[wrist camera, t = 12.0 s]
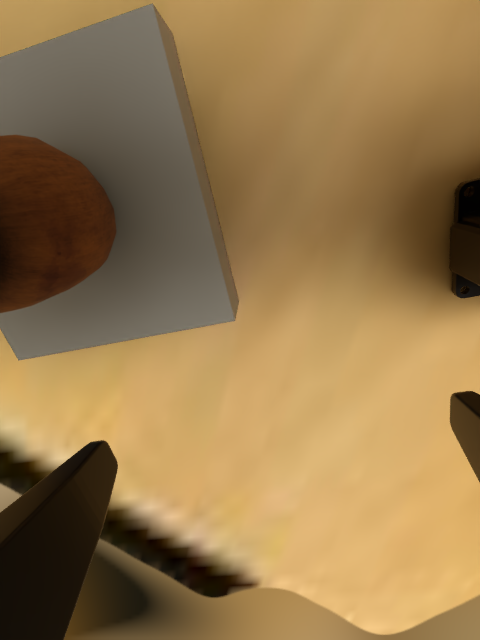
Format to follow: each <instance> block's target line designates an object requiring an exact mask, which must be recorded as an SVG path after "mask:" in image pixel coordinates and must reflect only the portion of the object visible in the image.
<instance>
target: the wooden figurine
mask: <svg viewBox="0 0 480 640" xmlns="http://www.w3.org/2000/svg"><path fill="white" fill-rule="evenodd" d="M116 232H117V231H116V223H115V215H114V208H113V206H112V204H111V202H110V200H109V198H108V196H107V194H106V192H105V190H104V188H103V187H102V186H101V184H100V183H99V182H98V181H97V180H96V178H95V177H94V176H93V175H92V173H91V172H90V171H89V170H88V169H87V168H86V167H85V166H84V165H83V164H82V163H81V162H80V161H78V160H77V159H75V158H73V157H71V156H69V155H68V154H66V153H64V152H62V151H60V150H58V149H57V148H55V147H53V146H51V145H49V144H47V143H45V142H43V141H42V140H40V139H38V138H34V137H28V136H21V135H5V136H0V313H4V312H9V311H14V310H18V309H22V308H25V307H29V306H33V305H35V304H37V303H39V302H42V301H44V300H46V299H48V298H51V297H53V296H55V295H57V294H60V293H62V292H64V291H67V290H69V289H71V288H72V287H74V286H76V285H77V284H79V283H80V282H82V281H83V280H85V279H86V278H87V277H89V276H90V275H91V274H93V273H94V272H95V271H97V270H98V269H99V268H100V267H101V266H102V265H103V264H104V262H105V261H106V260H107V258H108V256H109V253H110V251H111V248H112V245H113V242H114V239H115V236H116Z"/></svg>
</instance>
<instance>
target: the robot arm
mask: <svg viewBox="0 0 480 640" xmlns="http://www.w3.org/2000/svg"><path fill="white" fill-rule="evenodd" d="M468 187H469V188H470V193H469V194H468V195H467V196H464V191H465V189H466V188H468ZM449 268H450V270H451V271H453V276H452V291H453V293H454V295H456V296H457V297H460V298H468V297H474V296H479V295H480V178H479V179H474V180H470V181H465V182H463V183H461V184H460V185H459V186H458V187H457V189H456V191H455V206H454V223H453V225H452V226H451V228H450V267H449ZM464 286H466V288H465V290H464V291H462V292H460V290H461V288H462V287H464ZM450 424H451V427H452V430H453V432H454V434H455V436H456V438H457V440H458V442H459V444H460V445H461V447H462V449H463V451H464V453H465V455H466V457H467V459H468V461H469V463H470V465H471V467H472V469H473V471H474V472H475V474H476V476H477V478H478V480H479V482H480V395H479V394H477V393H475V392H472V391H465V392H457V393H454V394H452V395H451V399H450ZM117 469H118V464H117V460H116V458H115V456H114V454H113V452H112V450H111V448H110V446H109V445H108V443H107V442H106V441H103V440H101V441H94V442H90V443H89V444H87V445H86V446H85V447H83V448H82V449H81V450H80V451H78V452H77V453H76V454H74V455H73V456H72V457H71V458H69V459H68V460H67V461H66V462H64V463H63V464H62V465H60V466H59V467H58V468H57V469H55V470H54V471H53V472H52V473H50V474H49V475H48V476H46V477H45V478H44V479H43V480H41V481H40V482H39V483H38V484H36V485H35V486H34V487H32V488H31V489H30V490H29V491H27V492H26V493H25V494H24V495H22V496H21V497H20V498H19V499H17V500H16V501H15V502H13V503H12V504H11V505H10V506H8V507H7V508H6V509H4V510H3V511H2V512H1V513H0V640H64V637H65V633H66V631H67V628H68V625H69V622H70V620H71V617H72V614H73V611H74V608H75V606H76V603H77V600H78V597H79V594H80V591H81V588H82V585H83V583H84V580H85V577H86V574H87V571H88V568H89V566H90V563H91V560H92V557H93V554H94V551H95V548H96V545H97V542H98V540H99V537H100V534H101V531H102V528H103V524H104V521H105V517H106V514H107V510H108V506H109V502H110V498H111V494H112V490H113V486H114V482H115V478H116V474H117Z"/></svg>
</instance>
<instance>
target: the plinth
mask: <svg viewBox="0 0 480 640" xmlns="http://www.w3.org/2000/svg"><path fill="white" fill-rule="evenodd" d="M5 135H21V136H28V137H34V138H38V139H40V140H42V141H43V142H45V143H47V144H49V145H51V146H53V147H55V148H57V149H58V150H60V151H62V152H64V153H66V154H68V155H69V156H71V157H73V158H75V159H77V160H78V161H80V162H81V163H82V164H83V165H84V166H85V167H86V168H87V169H88V170H89V171H90V172H91V173H92V175H93V176H94V177H95V178H96V180H97V181H98V182H99V183H100V184H101V186H102V187H103V188H104V190H105V192H106V194H107V196H108V198H109V200H110V202H111V204H112V206H113V208H114V215H115V223H116V231H117V232H116V236H115V239H114V242H113V245H112V248H111V251H110V253H109V256H108V258H107V260H106V261H105V262H104V264H103V265H102V266H101V267H100V268H99V269H98V270H97V271H95V272H94V273H93V274H91V275H90V276H89V277H87V278H86V279H85V280H83V281H82V282H80V283H79V284H77V285H76V286H74V287H72V288H71V289H69V290H67V291H64V292H62V293H60V294H57V295H55V296H53V297H51V298H48V299H46V300H44V301H42V302H39V303H37V304H35V305H33V306H29V307H25V308H22V309H18V310H14V311H9V312H4V313H0V329H1V331H2V333H3V334H4V336H5V338H6V339H7V341H8V343H9V345H10V346H11V348H12V350H13V352H14V353H15V355H16V357H17V358H18V360H24V359H30V358H35V357H40V356H46V355H51V354H57V353H62V352H68V351H73V350H79V349H84V348H89V347H95V346H100V345H106V344H111V343H117V342H122V341H128V340H133V339H139V338H144V337H149V336H155V335H160V334H166V333H171V332H177V331H182V330H188V329H193V328H198V327H204V326H209V325H215V324H220V323H226V322H231V321H235V318H236V313H237V308H238V303H239V300H238V296H237V292H236V288H235V284H234V280H233V276H232V272H231V268H230V264H229V260H228V256H227V252H226V248H225V244H224V239H223V235H222V231H221V227H220V223H219V219H218V215H217V211H216V207H215V203H214V199H213V195H212V191H211V187H210V183H209V179H208V175H207V171H206V167H205V163H204V159H203V155H202V151H201V147H200V143H199V139H198V135H197V131H196V127H195V123H194V119H193V115H192V111H191V106H190V102H189V98H188V94H187V90H186V86H185V82H184V78H183V74H182V70H181V66H180V62H179V58H178V54H177V50H176V46H175V42H174V38H173V34H172V32H171V30H170V29H169V27H168V26H167V24H166V23H165V21H164V20H163V18H162V17H161V15H160V14H159V12H158V11H157V9H156V8H155V6H154V5H153V3H152V4H150V5H147V6H144V7H141V8H138V9H136V10H133V11H130V12H127V13H124V14H121V15H119V16H116V17H113V18H110V19H107V20H104V21H102V22H99V23H96V24H93V25H90V26H88V27H85V28H82V29H79V30H76V31H73V32H71V33H68V34H65V35H62V36H59V37H56V38H54V39H51V40H48V41H45V42H42V43H39V44H37V45H34V46H31V47H28V48H25V49H23V50H20V51H17V52H14V53H11V54H8V55H6V56H3V57H0V136H5Z"/></svg>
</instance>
